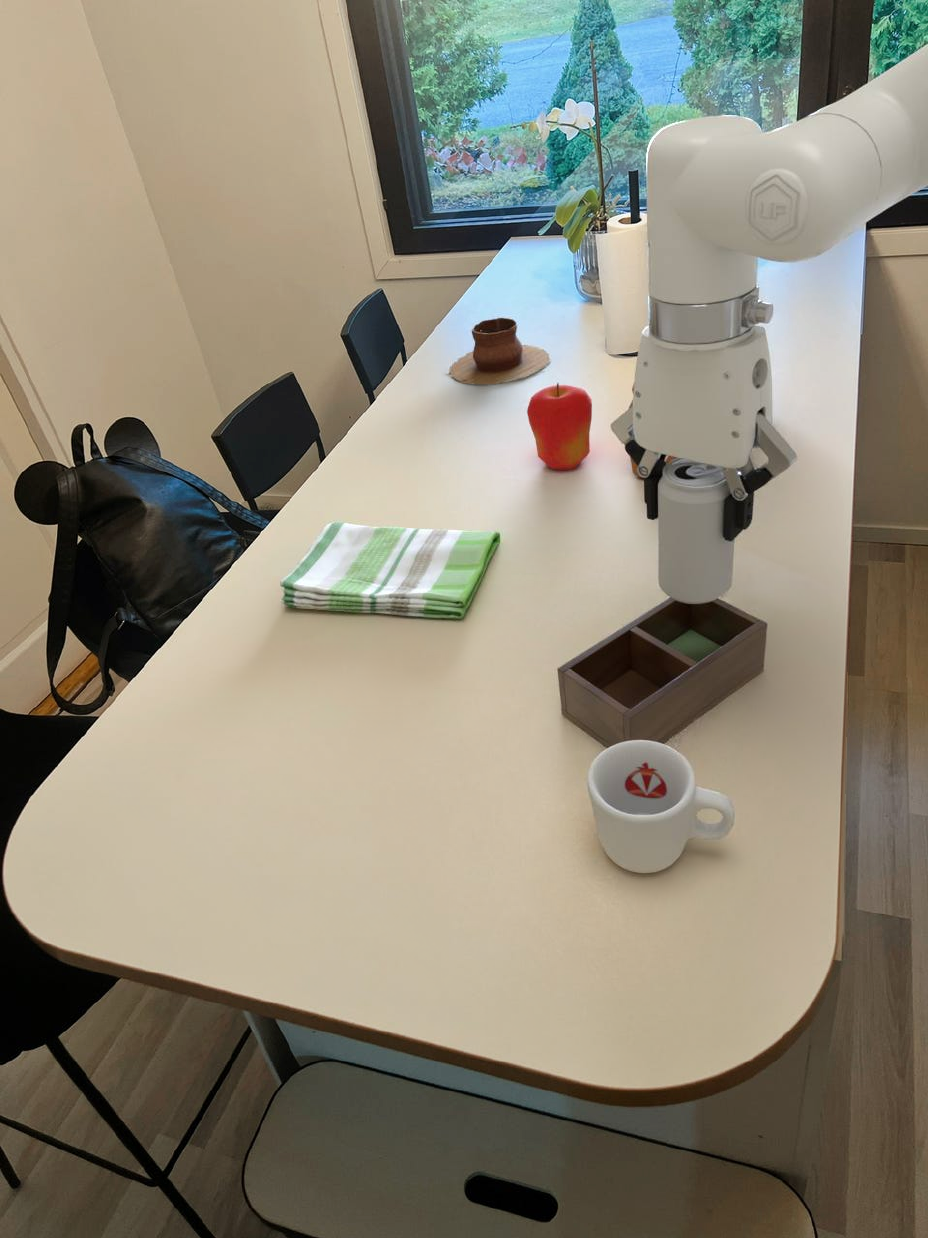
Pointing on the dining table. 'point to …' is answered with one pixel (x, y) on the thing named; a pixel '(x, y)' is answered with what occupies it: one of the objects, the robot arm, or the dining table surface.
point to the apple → (561, 425)
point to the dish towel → (390, 570)
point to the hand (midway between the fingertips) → (696, 520)
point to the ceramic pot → (498, 355)
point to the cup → (650, 805)
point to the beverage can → (693, 532)
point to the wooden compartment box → (662, 671)
